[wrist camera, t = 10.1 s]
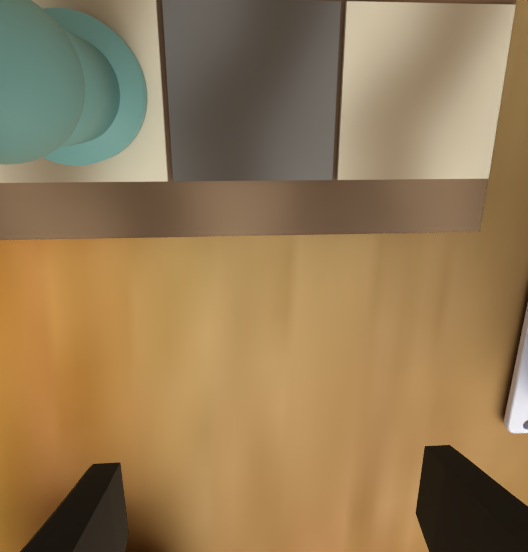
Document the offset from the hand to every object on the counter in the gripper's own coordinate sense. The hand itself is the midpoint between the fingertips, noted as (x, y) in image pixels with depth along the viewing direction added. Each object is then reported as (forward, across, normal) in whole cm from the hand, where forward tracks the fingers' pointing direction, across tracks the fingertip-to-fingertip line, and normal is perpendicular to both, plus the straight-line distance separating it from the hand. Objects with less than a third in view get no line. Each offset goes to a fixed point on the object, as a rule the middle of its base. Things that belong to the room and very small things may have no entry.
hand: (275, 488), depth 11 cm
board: (+9, +3, -9) cm, 13 cm away
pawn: (+8, +6, -9) cm, 14 cm away
